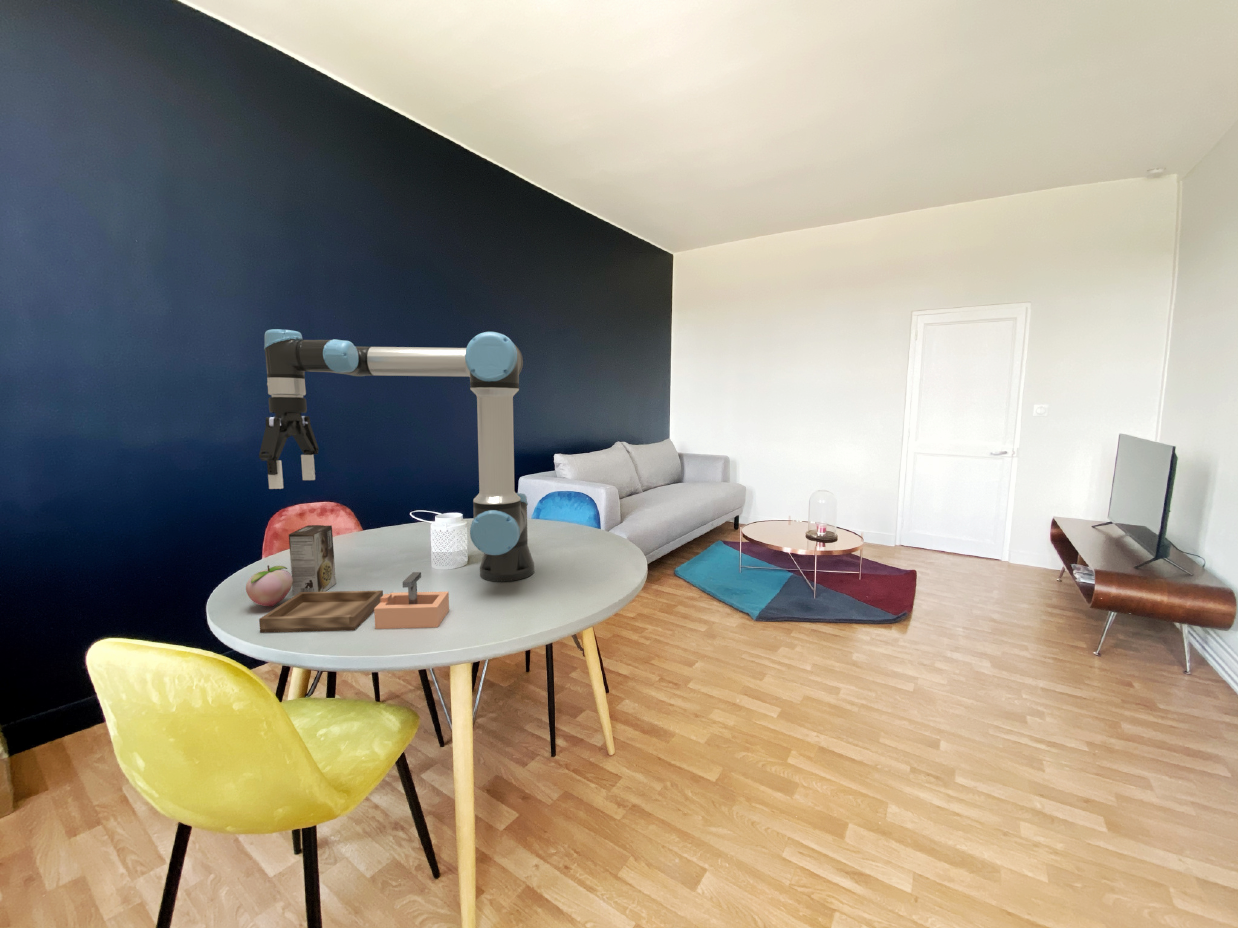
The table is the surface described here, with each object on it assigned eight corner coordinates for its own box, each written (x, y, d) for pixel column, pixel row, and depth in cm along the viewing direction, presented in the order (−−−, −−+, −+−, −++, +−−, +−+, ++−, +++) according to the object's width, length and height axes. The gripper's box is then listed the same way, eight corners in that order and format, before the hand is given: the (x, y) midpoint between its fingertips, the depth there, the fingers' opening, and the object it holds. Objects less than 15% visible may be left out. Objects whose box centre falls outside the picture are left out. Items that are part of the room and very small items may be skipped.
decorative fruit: (267, 598, 120) (264, 558, 119) (300, 599, 120) (297, 559, 119) (237, 614, 111) (233, 571, 110) (272, 615, 111) (269, 572, 110)
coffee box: (311, 584, 130) (307, 524, 128) (336, 583, 131) (333, 524, 129) (291, 597, 121) (287, 533, 119) (319, 596, 122) (314, 533, 120)
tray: (383, 602, 119) (382, 590, 118) (354, 630, 104) (353, 616, 103) (301, 604, 117) (300, 592, 117) (260, 632, 102) (259, 618, 102)
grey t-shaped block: (422, 612, 113) (421, 572, 111) (413, 625, 106) (411, 581, 105) (414, 613, 112) (412, 572, 111) (404, 625, 106) (402, 582, 105)
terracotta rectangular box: (449, 610, 114) (448, 587, 114) (437, 627, 105) (436, 602, 105) (391, 611, 113) (390, 588, 113) (375, 628, 104) (373, 603, 104)
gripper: (300, 397, 130) (306, 476, 132) (234, 395, 105) (242, 492, 108) (330, 397, 130) (335, 476, 133) (270, 395, 106) (278, 492, 108)
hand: (293, 484), depth 120 cm, fingers open, 13 cm apart
